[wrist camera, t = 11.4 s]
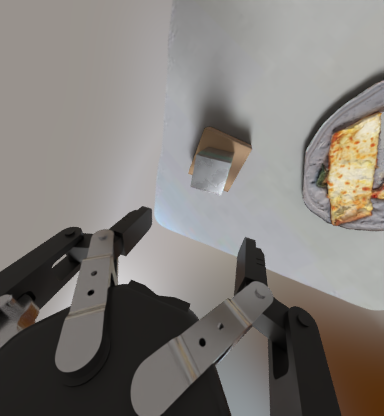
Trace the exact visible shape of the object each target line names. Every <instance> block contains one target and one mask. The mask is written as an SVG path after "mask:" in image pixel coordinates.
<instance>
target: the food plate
mask: <svg viewBox="0 0 384 416" xmlns="http://www.w3.org/2000/svg"><path fill="white" fill-rule="evenodd" d="M380 112H384V80H383V81H380V82H378V83H376V84H374V85H372V86H371V87H369V88H368V89H366V90H365V91H363V92H361V93H360V94H359V95H358V96H357V97H355V98H352V99H351V101H348V102H347V103H346V104H344V105H343V106H342V107H341V108H339V109H338V110H337V111H336V112H335V113H333V115H331V116H330V117H329V119H327V120H326V122H324V123H323V125H322V127H321V128H319V130H318V132H317V133H316V134H315V136H314V137H313V139H312V141H311V143H310V145H309V146H308V147H307V149H306V150H305V151H306V153H305V154H306V156H305V166H304V184H303V196H304V197H303V200H304V203H305V205H306V206H307V208H309V209H310V211H312V212H313V213H315V214H316V215H318V216H319V217H320V218H322V219H323V220H324V221H326V222H327V223H329V224H333V226H334V225H335V226H340V227H343V228H346V229H355V230H367V231H384V165H383V164H382V162H384V149H379V148H380V146H381V145H380V144H381V142H380V141H381V139H380V138H379V137H380V133H381V131H380V127H381V118H380V116H381V113H380ZM381 168H383V169H382V170H381ZM381 180H383V182H382V184H380V185H378V184H377V183H378V181H381Z"/></svg>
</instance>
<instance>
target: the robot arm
mask: <svg viewBox="0 0 384 416" xmlns="http://www.w3.org/2000/svg"><path fill="white" fill-rule="evenodd" d="M151 225H152V209H150V208H147V207H144V206H142V207H141V208H139V209H138V210H134V211H132V212H130V213H128V214H127V215H126V216H125V217H123V218H122V219H121V220H120V221H118V222H117V223H116V224H115V225H114V226H112V227H111V228H110V229H109V230H108V229H104V230H100V231H97V232H96V233H94V234H86V233H85V234H84V233H82V230H81V228H79V227H70V228H66V229H64V230H62V231H61V232H59V233H58V234H56V235H55V236H53V237H52V238H50V239H49V240H47V241H46V242H44V243H43V244H41V245H40V246H38V247H37V248H35V249H34V250H32V251H31V252H29V253H28V254H26V255H25V256H23V257H22V258H21V259H19V260H17V261H16V262H14V263H13V264H11V265H10V266H8V267H7V268H5V269H4V270H3V271H1V272H0V416H231V413H230V409H229V407H228V403H227V400H226V397H225V394H224V391H223V388H222V385H221V381H220V378H219V375H218V372H217V369H216V365H217V364H218V363H219V362H220V361H221V360H222V359H223V358H224V357H225V356H226V355H227V354H228V352H229V351H230V350H231V349H232V348H233V347H234V346H235V345H236V343H237V342H238V341H239V340H240V339H241V338H242V337H243V336H244V335H245V334H246V333H247V332H248V331H249V330H250V329H251V328H252V327H255V328H256V329H257V330H258V331H259V332H261V333H262V334H263V335H265V336H266V337H267V338H268V357H269V387H270V389H269V390H270V416H341V412H340V409H339V405H338V402H337V397H336V394H335V390H334V386H333V383H332V379H331V375H330V371H329V367H328V364H327V360H326V357H325V353H324V349H323V345H322V341H321V338H320V334H319V330H318V327H317V324H316V322H315V320H314V319H313V318H312V317H311V315H310V314H309V313H307V312H306V311H305V310H303V309H302V308H300V307H296V306H294V307H291V308H288V307H287V306H285V305H284V304H282V303H281V302H279V301H278V300H276V299H275V298H274V297H273V294H272V292H271V290H270V289H269V288H268V286H267V276H266V267H265V258H264V254H263V252H262V250H261V249H259V248H256V242H255V240H253V239H250V238H246V237H245V238H244V240H243V243H242V245H241V247H240V250H239V252H238V257H237V268H236V279H235V291H234V297H233V298H231V299H226V300H225V301H223V302H222V303H221V304H219V305H218V306H217V307H216V308H214V309H213V310H212V311H210V312H209V313H208V314H207V315H205V316H204V317H203V318H201V319H200V320H199V319H198V317H197V316H196V315H195V314H194V313H193V311H191V310H190V309H189V307H190V303H187V302H185V301H182V300H180V299H177V298H175V297H166V296H158V295H156V294H155V293H154V292H153V291H151V290H150V289H149V288H148V287H146V286H145V285H143V284H140V283H138V282H135V281H133V280H131V281H130V282H129V284H121V285H118V257H119V256H120V255H124V256H127V254H128V253H129V252H130V251H131V250H132V249H133V247H134V246H135V245H136V244H137V243H138V242H139V241H140V240H141V238H142V237H143V236H144V235H145V234H146V233H147V231H148V230H149V229H150V227H151ZM64 254H66V255H67V256H66V257H65V258H64V259H63V260H61V261H60V262H59V263H58V264H57V265H55V266H54V267H53V268H52V266H53V264H54V263H55V262H56V261H57V260H58V259H60V258H61V257H62V256H63V255H64ZM79 270H80V272H79V276H78V280H77V284H76V288H75V292H74V296H73V300H72V304H71V306H70V307H68V308H66V309H64V310H62V311H60V312H57V313H55V314H53V315H51V316H49V317H47V318H45V319H43V320H41V321H39V322H37V323H35V319H36V318H37V316H38V314H39V310H40V309H41V308H42V307H43V306H44V305H45V304H46V303H47V302H48V301H49V300H50V299H51V298H52V297H53V296H54V295H55V294H56V293H57V292H58V291H59V290H60V289H61V288H62V287H63V286H64V285H65V284H66V283H67V282H68V281H69V280H70V279H71V278H72V277H73V276H74V275H75V274H76V273H77V272H78V271H79Z"/></svg>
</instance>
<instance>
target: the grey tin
mask: <svg viewBox="0 0 384 416" xmlns="http://www.w3.org/2000/svg"><path fill="white" fill-rule="evenodd" d="M234 154H235V153H234V152H229V151H225V150H221V149H217V148H213V147H206V148H205V149H204V150H202V151H200V152H199V153H198V154H197V155H196V159H195V164H194V170H193V175H192V181H191V187H193V188H196V189H200V190H203V191H207V192H210V193H214V194H217V195H222V192H223V189H224V186H225V183H226V180H227V177H228V173H229V170H230V167H231V163H232V160H233V157H234Z"/></svg>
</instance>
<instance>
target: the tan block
mask: <svg viewBox="0 0 384 416" xmlns="http://www.w3.org/2000/svg"><path fill="white" fill-rule="evenodd" d="M206 147H213V148H217V149H221V150H225V151H229V152H234V153H235V154H234V157H233V160H232V163H231V167H230V170H229V173H228V177H227V180H226V183H225V186H224V189H223V190H224V191H226V192H228V191H229V189H230V187H231V185H232V184H233V182H234V180H235V178H236V177H237V175H238V173H239V171H240V169H241V168H242V166H243V164H244V162H245V161H246V159H247V157H248V155H249V153H250V152H251V150H252V147H251V145H250V144H248V143H245V142H243V141H241V140H239V139H237V138H234V137H232V136H230V135H228V134H225V133H223V132H221V131H219V130H217V129H214V128H212V127H206V128H204V131H203V134H202V136H201V139H200V142H199V145H198V148H197V150H196V153H195V156H194V159H193V161H192V164H191V167H190V170H189V174H191V175H193V170H194V164H195V159H196V155H197V154H198V153H199V152H200V151H202V150H204V149H205V148H206Z"/></svg>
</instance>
